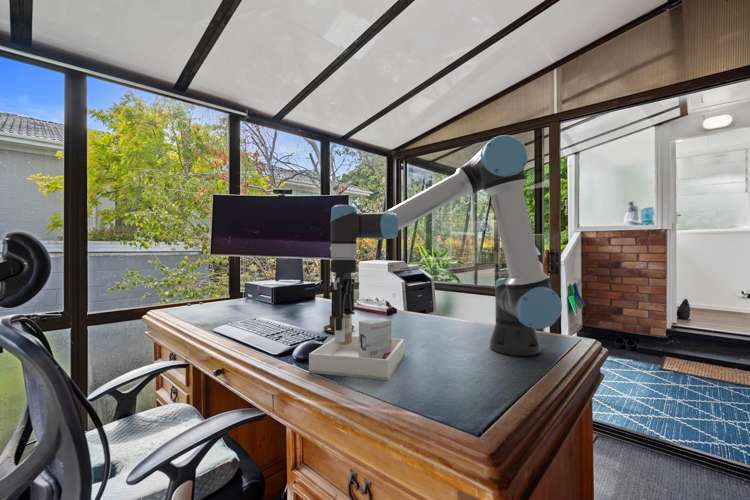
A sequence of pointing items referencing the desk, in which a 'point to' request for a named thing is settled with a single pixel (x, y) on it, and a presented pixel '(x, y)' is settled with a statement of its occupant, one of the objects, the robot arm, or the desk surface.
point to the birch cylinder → (347, 332)
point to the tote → (355, 360)
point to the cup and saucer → (332, 326)
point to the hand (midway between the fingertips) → (343, 338)
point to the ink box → (375, 338)
